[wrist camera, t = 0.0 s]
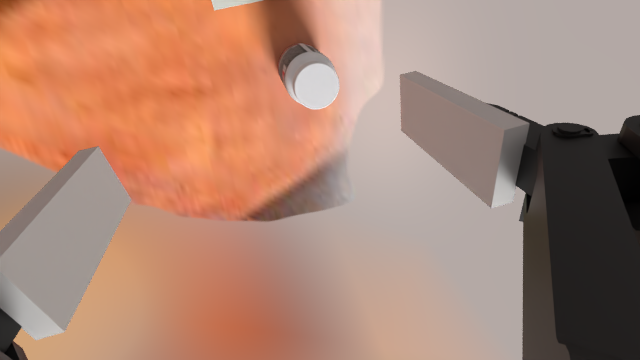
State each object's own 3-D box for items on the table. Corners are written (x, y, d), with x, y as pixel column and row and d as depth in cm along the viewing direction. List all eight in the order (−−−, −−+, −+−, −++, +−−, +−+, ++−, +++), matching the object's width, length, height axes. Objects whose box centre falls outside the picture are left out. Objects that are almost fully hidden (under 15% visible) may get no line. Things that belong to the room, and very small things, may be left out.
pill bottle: (280, 91, 41) (291, 117, 33) (274, 44, 38) (284, 60, 30) (323, 86, 42) (344, 110, 34) (320, 40, 39) (343, 54, 31)
